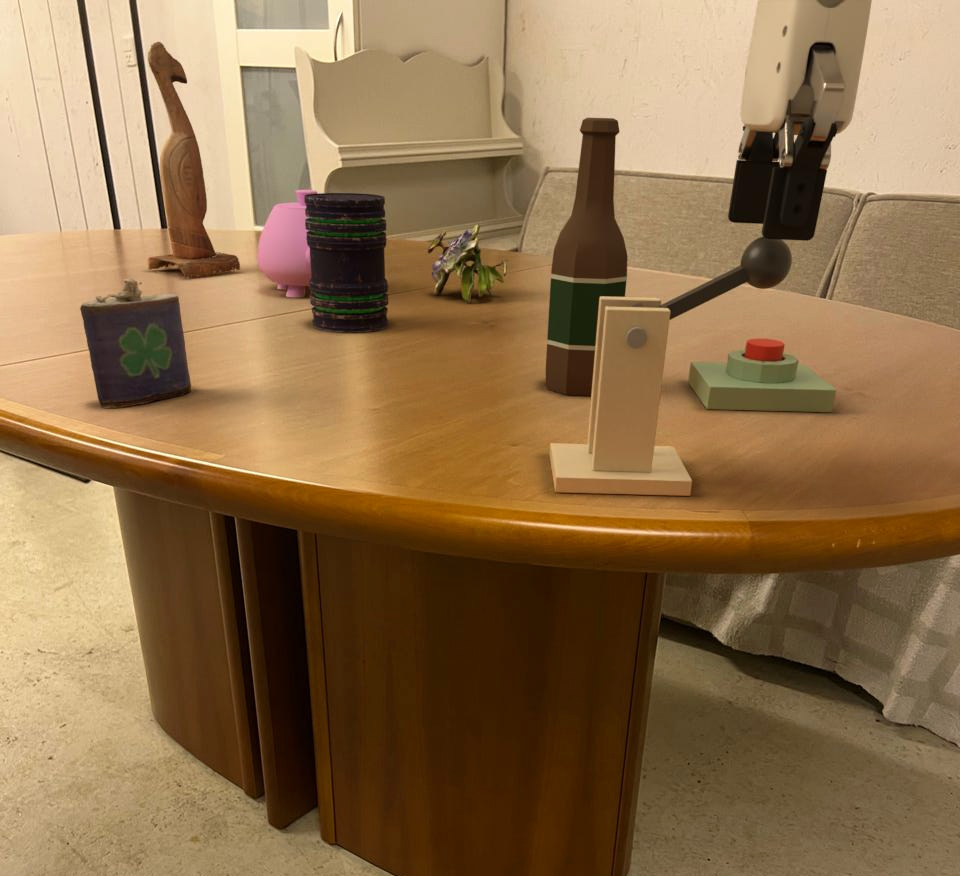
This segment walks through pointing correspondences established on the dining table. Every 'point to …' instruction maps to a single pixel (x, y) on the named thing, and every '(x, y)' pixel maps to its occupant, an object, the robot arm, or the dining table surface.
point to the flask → (136, 347)
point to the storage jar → (347, 261)
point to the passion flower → (464, 264)
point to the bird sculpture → (183, 181)
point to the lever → (739, 275)
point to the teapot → (286, 247)
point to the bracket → (624, 409)
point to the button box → (760, 385)
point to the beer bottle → (585, 264)
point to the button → (764, 350)
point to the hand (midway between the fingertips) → (767, 230)
